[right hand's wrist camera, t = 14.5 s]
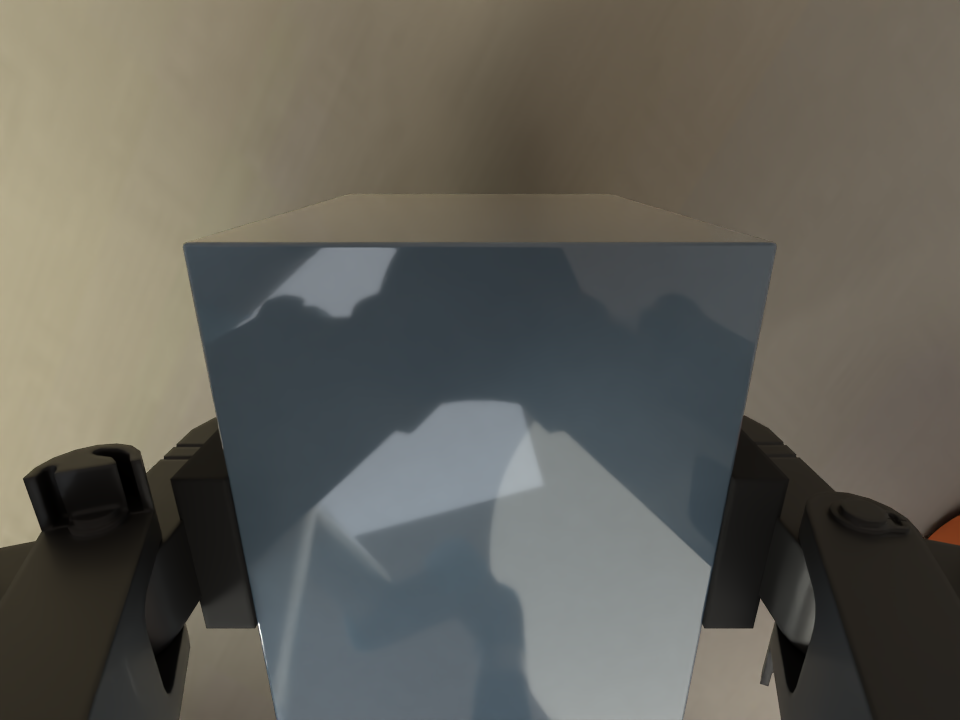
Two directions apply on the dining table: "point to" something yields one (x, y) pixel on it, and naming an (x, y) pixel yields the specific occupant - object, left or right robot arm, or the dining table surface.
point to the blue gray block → (479, 446)
